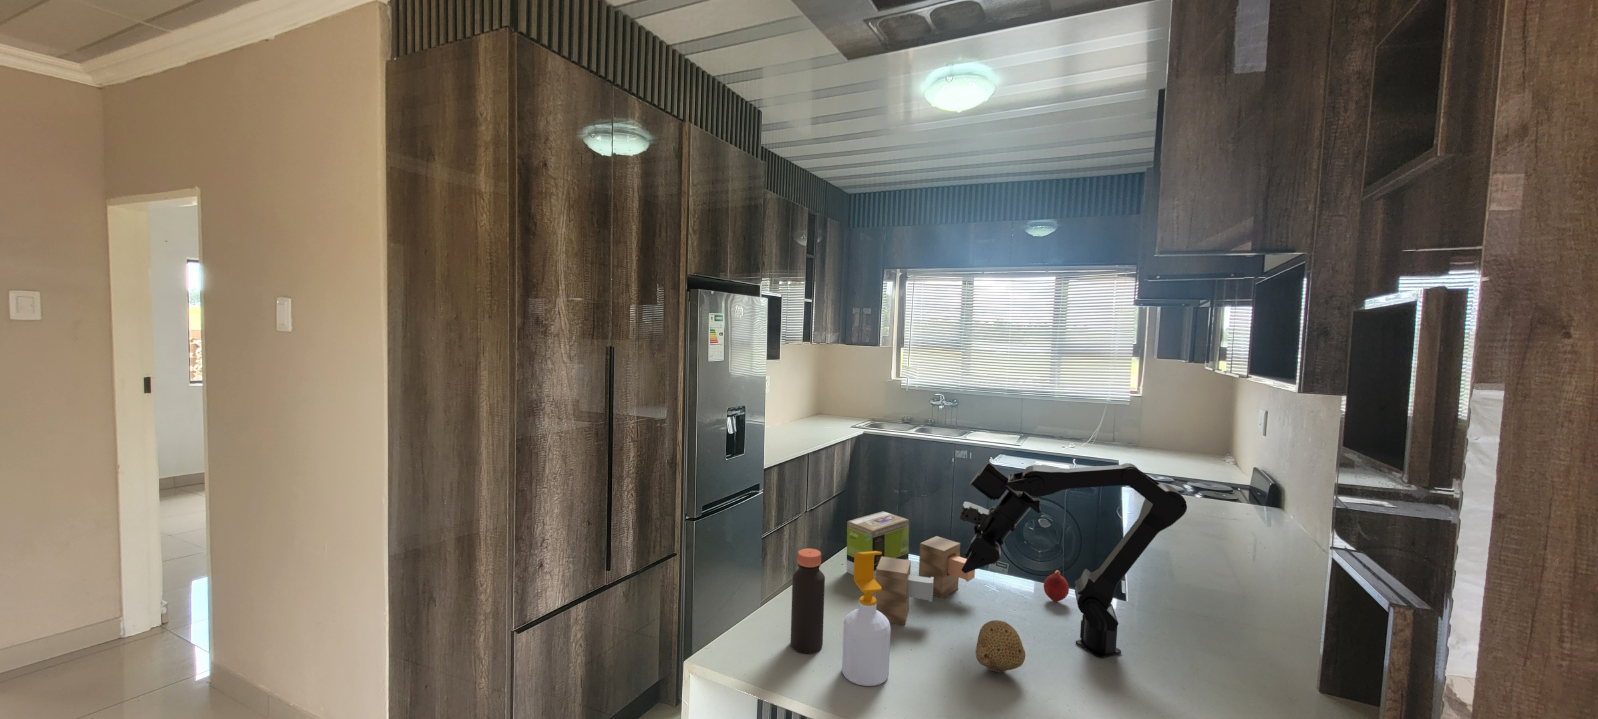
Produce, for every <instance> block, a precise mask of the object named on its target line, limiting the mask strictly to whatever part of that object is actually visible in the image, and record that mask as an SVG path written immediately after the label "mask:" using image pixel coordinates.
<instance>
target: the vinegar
mask: <svg viewBox="0 0 1598 719" xmlns="http://www.w3.org/2000/svg"><path fill="white" fill-rule="evenodd" d="M821 565H822V552H821V551H820V550H818V549H816V548H810V547H809V548H802V549H799V550H798V551H797V566H798V568H797V569H796V570H795V571H794V572H793V574H792V577H791V578H792V580H791V581H792V582H791V583H792V584H791V585H792V586H791V613H790V614H791V615H790V646H791V648H792V649H793V650H794V651H795V652H798V653H801V654H814V653H817V652H819V651H820V650H821V649H822V648H823V644H824V643H823V641H824V640H823V639H824V619H825V618H824V617H825V616H824V614H825V586H826V582H825V581H826V577H825V574H824V573H823V572H822V571H821V569H820V567H821Z"/></svg>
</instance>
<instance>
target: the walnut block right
mask: <svg viewBox="0 0 1598 719" xmlns="http://www.w3.org/2000/svg"><path fill="white" fill-rule="evenodd" d="M952 554H953V555H956V556H959V557H961V542H957V541H954V540H952V539H951V540H950V539H948V538H945V537H940V536H938V535H936V536H934V537H930V538H929V539H927V540H925V541H922V542H920V543H919V561H918V562H919V563H918V576H921V577H928V578H931V577H934V582H933V596H936V597H940V598H941V597H942V598H944V597H946V596H947V595H949V594H952V592H955V591H956V590H957V589H958V590H959V577H956V576H954V575H951V574H948V573H947V565H948V556H950V555H952Z"/></svg>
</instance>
